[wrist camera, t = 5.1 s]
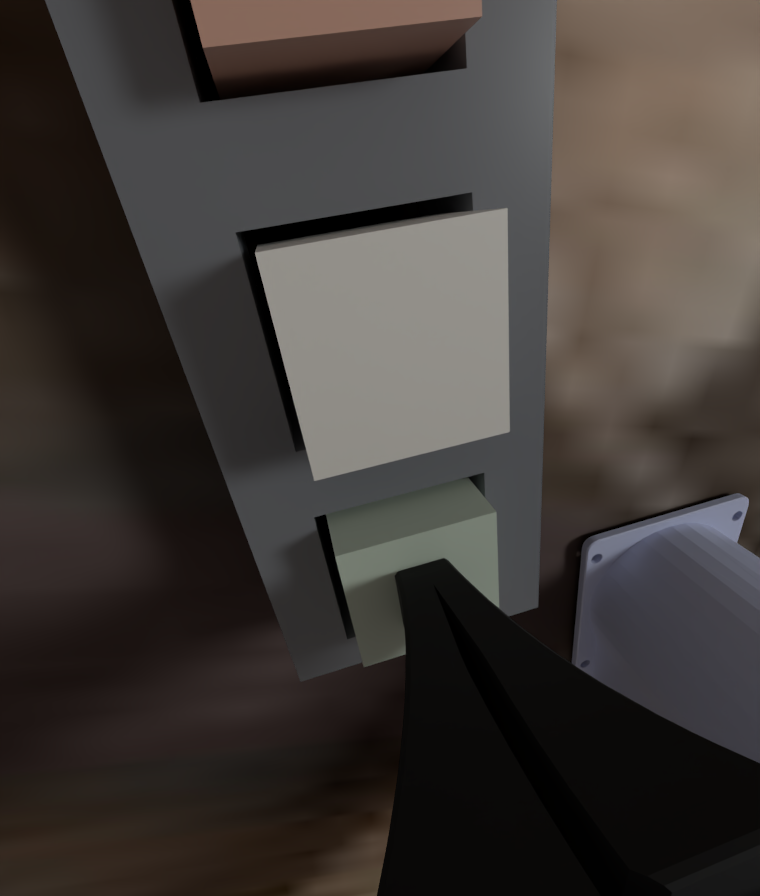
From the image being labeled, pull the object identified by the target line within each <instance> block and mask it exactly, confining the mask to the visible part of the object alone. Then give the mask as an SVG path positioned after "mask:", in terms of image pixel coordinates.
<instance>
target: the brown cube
mask: <svg viewBox="0 0 760 896" xmlns="http://www.w3.org/2000/svg"><path fill="white" fill-rule="evenodd" d="M190 1H191V4H192V8H193V12H194V16H195V20H196V24H197V28H198V31H199V35H200V39H201V43H202V47H203V50H204V53H205V56H206V59H207V62H208V65H209V68H210V71H211V74H212V77H213V80H214V83H215V86H216V89H217V92H218V95H219V98H220V100H225V99H233V98H241V97H248V96H256V95H264V94H272V93H279V92H287V91H295V90H303V89H310V88H318V87H326V86H334V85H342V84H349V83H357V82H365V81H373V80H380V79H388V78H396V77H404V76H412V75H419V74H423V73H424V72H425V71H426V70H427V69H428V68H430V67H431V66H432V65H433V64H434V63H435V62H436V61H437V60H438V59H439V58H440V57H441V56H442V55H443V54H444V53H445V52H446V51H447V50H448V49H449V48H450V47H451V46H452V45H453V44H454V43H455V42H456V41H457V40H458V39H459V38H460V37H462V36H463V35H464V34H465V33H466V32H467V31H468V30H469V29H470V28H471V27H472V26H473V25H474V24H475V23H476V22H477V21H478V20H479V19H480V18H481V17H482V0H190Z"/></svg>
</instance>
